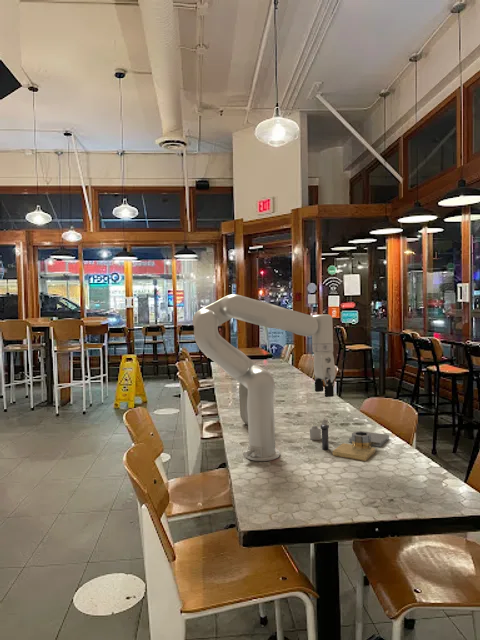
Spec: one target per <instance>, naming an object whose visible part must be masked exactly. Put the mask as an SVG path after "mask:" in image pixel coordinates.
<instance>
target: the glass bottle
mask: <svg viewBox="0 0 480 640" xmlns="http://www.w3.org/2000/svg"><path fill="white" fill-rule="evenodd" d="M238 399H239V416H240V419H241V420H242V422H243V423H244V424H245V425H248V411H247V399H248V389H247V388H246V387H245V386H244V385H242V384H241V383H240V382H239V387H238Z"/></svg>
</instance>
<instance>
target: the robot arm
mask: <svg viewBox="0 0 480 640" xmlns="http://www.w3.org/2000/svg"><path fill="white" fill-rule="evenodd" d="M332 316H333V315H331V314H327V313H326V314H323V313H322V314H313V315H310V314H307V313H303V312H300V311H296V310H294V309H288V308H285V307H282V306H280V305H279V306H278V305H276V304H273V303H269V302H264V301H261V300H258V299H254V298H252V297H251V298H250V297H247V296H244V295H240V294H236V293H235V294H233V293H232V294H228V295H226V296H223V297H222V298H220V299H218V300H216V301H214V302H213V303H210V304H209V305H207V306H205V307H202V308H201V309H198V310H197V311H196V312H195V313H194V314H193V316H192V325H193V327H194V328H193V335H194V340H195V343H196V345H197V347H198V349H199V350H200V351H201V352H202V354H203V355H205V356H206V357H207V358H209V359H210V360H211V361H212V362H213V363H215V364H216V365H217V366H219V367H220V368H221V369H222V370H223V371H224V373H226V374H227V375H229V376H230V377H232V378H233V379H234V380H235V381H237V382H239V384H240V383H241V384H242V385H244V386H245V387H246V388H247V389H248V399H247V411H248V424H247V427H248V428H247V429H248V446H247V450H245V451H244V452H243V453H242V456H243V458H246V459H248V460H251V461H253V462H269V461H274V460H276V459H278V458H279V457H280V455H281V451H280V450H279V449H278V448H276V431H275V429H276V428H275V426H276V425H275V408H274V407H275V404H274V403H275V398H274V397H275V388H276V387H275V379H274V377H273V375H272V373H271V372H270V371H268V370H267V369H265V368H263V367H261V366H260V365H259V364H257V363H256V362H255V361H254V360H252V359H251V358H250V357H249V356H247V355H246V354H245V353H244V352H243V351H241V350H240V349H238V348H237V347H235V346H234V345H232V344H231V343H230V342H228V341H227V340H226V339H225V338H224V337H223V336H222V335H220V333H219V329H218V328H219V326H221V325H222V324H224V323H226V322H228V321H230V320H231V319H235V320H239V321H241V322H246V323H248V324H249V323H250V324H253V325H257V326H260V327H264V328H268V329H276V330H282V331H286V332H289V333H293V334H295V335H297V336H302V337H311V342H312V345H311V346H312V353H313V376H314V392H316V393H320V392H321V393H322V392H324V397H325V398H332V397H334V396H335V394H334V393H335V392H334V391H335V390H334V385H335V378H336V367H335V358H334V330H333V317H332Z"/></svg>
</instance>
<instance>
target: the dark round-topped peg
mask: <svg viewBox="0 0 480 640" xmlns="http://www.w3.org/2000/svg"><path fill="white" fill-rule="evenodd" d="M320 427H321V428H322V429H321V449H322V450H323V451H329V449H330V447H329V446H330V445H329V444H330V443H329V428H330V426H329V424H323V425H321V424H320Z"/></svg>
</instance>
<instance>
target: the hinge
mask: <svg viewBox="0 0 480 640" xmlns="http://www.w3.org/2000/svg"><path fill="white" fill-rule="evenodd" d="M348 439H349V441H348V443H341V444H339V446H337V447H336V448H335V449H333V450H332V456H333V457H334V456H335V457H340V458H346V459H352V460H357V461H363V462H367V461H368V460H369V459H370V458H371V457H372V456H373V455H374V454H375V453H376V448H375V447H378V448H381V447H382V446H384V445H385V444H386V443H387V441H389V439H390V434H386V433H385V434H384V433H376V432H368V431H363V430H358V431H354V432H352V433H351V436H350V437H349V438H348Z"/></svg>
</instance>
